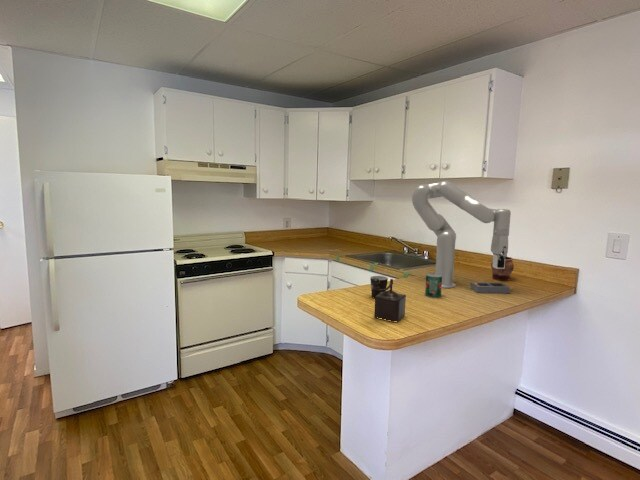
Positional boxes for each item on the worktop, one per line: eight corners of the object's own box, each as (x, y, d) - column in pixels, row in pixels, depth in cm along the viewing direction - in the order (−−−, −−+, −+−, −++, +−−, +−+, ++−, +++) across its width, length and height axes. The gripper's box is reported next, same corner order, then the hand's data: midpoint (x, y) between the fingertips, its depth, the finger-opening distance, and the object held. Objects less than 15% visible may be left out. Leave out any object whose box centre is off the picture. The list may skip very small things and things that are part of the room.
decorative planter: (513, 284, 208) (515, 261, 206) (490, 282, 213) (491, 259, 212) (511, 277, 226) (513, 255, 224) (490, 275, 231) (491, 253, 229)
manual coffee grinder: (381, 310, 161) (382, 271, 158) (405, 315, 155) (407, 274, 152) (367, 321, 147) (368, 278, 145) (393, 327, 142) (395, 282, 139)
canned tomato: (443, 297, 181) (445, 276, 180) (429, 298, 180) (430, 276, 178) (436, 293, 189) (437, 272, 187) (422, 293, 188) (423, 273, 186)
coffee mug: (385, 300, 175) (386, 280, 174) (367, 298, 178) (368, 278, 177) (389, 294, 186) (390, 275, 184) (372, 292, 189) (373, 273, 187)
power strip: (476, 293, 190) (477, 285, 190) (465, 284, 206) (465, 278, 206) (509, 293, 190) (510, 286, 189) (495, 285, 206) (495, 278, 205)
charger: (496, 268, 190) (497, 255, 189) (492, 266, 195) (493, 253, 194) (504, 268, 190) (505, 255, 189) (500, 266, 195) (501, 253, 194)
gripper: (486, 230, 198) (484, 263, 201) (501, 234, 182) (498, 269, 184) (500, 230, 198) (498, 263, 201) (516, 234, 181) (513, 270, 184)
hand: (498, 266), depth 192 cm, fingers closed on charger, 4 cm apart
